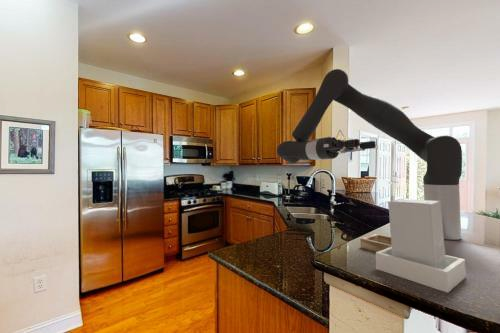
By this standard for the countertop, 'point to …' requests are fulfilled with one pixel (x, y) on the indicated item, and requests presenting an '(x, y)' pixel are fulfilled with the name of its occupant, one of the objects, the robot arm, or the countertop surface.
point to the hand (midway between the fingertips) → (367, 143)
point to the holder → (376, 242)
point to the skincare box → (417, 231)
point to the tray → (423, 270)
